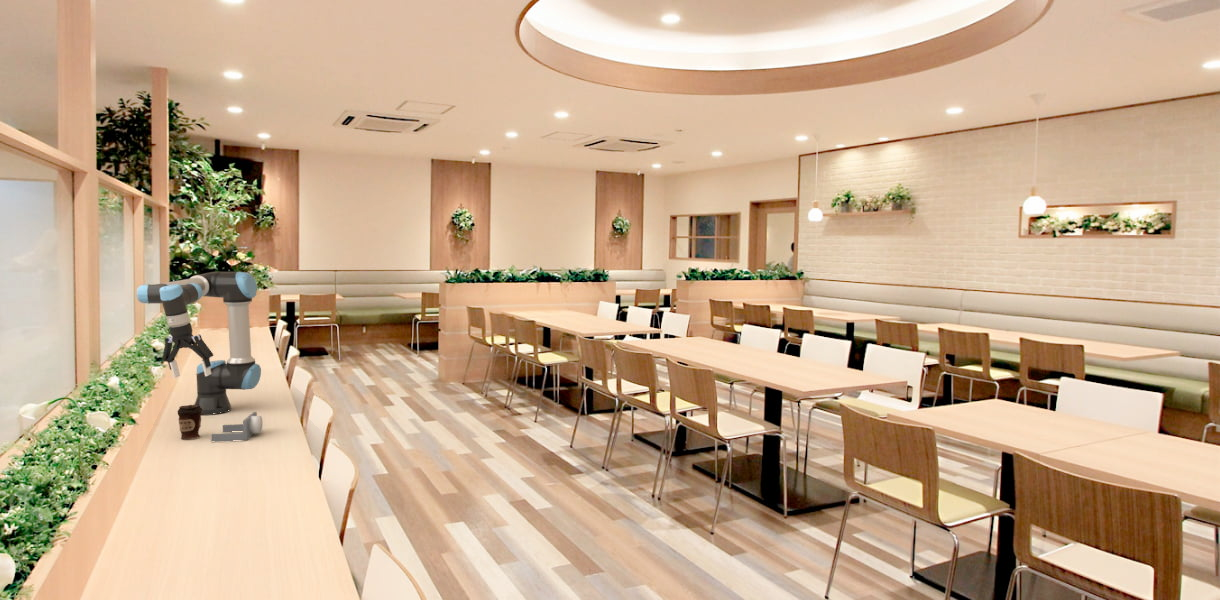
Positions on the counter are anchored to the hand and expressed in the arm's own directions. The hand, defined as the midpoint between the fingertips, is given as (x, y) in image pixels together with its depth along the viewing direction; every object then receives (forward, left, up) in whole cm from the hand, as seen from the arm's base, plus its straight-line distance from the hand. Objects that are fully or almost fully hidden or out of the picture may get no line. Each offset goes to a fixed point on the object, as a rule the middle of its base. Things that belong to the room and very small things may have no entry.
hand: (192, 376), depth 282 cm
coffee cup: (-2, -2, -26) cm, 26 cm away
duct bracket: (-2, +16, -25) cm, 30 cm away
